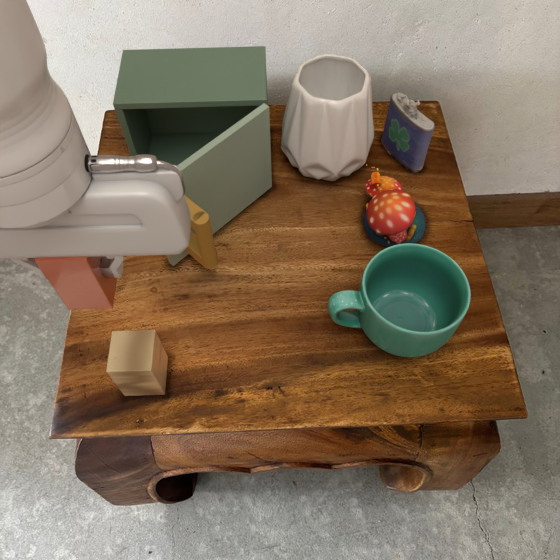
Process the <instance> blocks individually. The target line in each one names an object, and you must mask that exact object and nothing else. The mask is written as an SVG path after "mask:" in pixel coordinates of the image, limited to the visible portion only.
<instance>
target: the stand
mask: <svg viewBox="0 0 560 560" xmlns="http://www.w3.org/2000/svg"><path fill="white" fill-rule="evenodd" d="M108 349H109V350H108V357H107V364H106V370H105V372H106V373H107V375H108V376H109V377H110V379H111V380H112V382H113V383H114V384H115V386H116V387H117V388H118V389H119V391H120V392H121V393H122V395H123V396H124V397H134V396H135V397H136V396H137V397H138V396H139V397H140V396H164V395H166V386H167V376H168V363H169V356H168V354H167V352H166V350H165V348H164V346H163V344H162V341H161V340H160V337H159V335H158V333H157V331H156V329H139V330H136V329H135V330H112V331H111V336H110V343H109V348H108Z"/></svg>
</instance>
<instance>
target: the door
mask: <svg viewBox="0 0 560 560" xmlns="http://www.w3.org/2000/svg"><path fill="white" fill-rule="evenodd" d="M270 117H271V116H270V106H269V105H266V104H265V103H263V104H262V105H261V106H259V107H258V108H256V109H255V110H254V111H252V112H251V113H249V114H248V115H247V116H245V117H244V118H243V119H241V120H240V121H238V122H237V123H236V124H234V125H233V126H231V127H230V128H229V129H227V130H226V131H225V132H223V133H222V134H220V135H219V136H218V137H216V138H215V139H213V140H212V141H211V142H209V143H208V144H206V145H205V146H204V147H202V148H201V149H200V150H198V151H197V152H195V153H194V154H193V155H191V156H190V157H188V158H187V159H186V160H184V161H183V162H182V163H180V164H179V165H177V167H178V168H179V169H180V171H181V174H182V176H183V181H184V185H185V194H184V196H185V199H186V202H187V204H188V207H189V210H190V215H191V233H190V242H189V245H188V247H187V248H186V249H185V250H184V251H183V252H182V253H180V254H177V255H165V256H166V258H167V261H168V264H169V265H171V266H172V267H175V266H176V265H178V264H179V263H180V262H181V261H182V260H183V259H184V258H186V257H187V256H188V255H189V256H191V257H192V258H193V259H194V260H195V261H197V262H198V263H199V264H200V265H202V267H204V268H205V269H207V270H213V269H216V268H217V266H218V265H219V259H218V255H217V254H218V253H217V249H216V244H215V240H214V234H215V233H217V232H218V231H219V230H220V229H221V228H223V227H224V226H225V225H226V224H228V223H229V222H230V221H232V220H233V219H234V218H235V217H236V216H238V215H239V214H241V213H242V212H243V211H244V210H245V209H246V208H247V207H249V206H250V205H251V204H253V203H254V202H255V201H256V200H257V199H259V198H260V197H262V195H264V194H265V193H266V192H268V191H269V190H270V189H271V188H273V177H272V172H273V171H272V146H271V144H272V143H271V121H270V119H271V118H270Z"/></svg>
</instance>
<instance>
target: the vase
mask: <svg viewBox="0 0 560 560" xmlns="http://www.w3.org/2000/svg"><path fill="white" fill-rule="evenodd" d="M372 82H373V81H372V77H371V75H370V73H369V71H368V70H367V69H366V68H365V67H364V66H363V65H361V63H360V62H359V61H358V60H356V59H354V58H353V57H349V56H346V55H342V54H335V53H323V54H318V55H316V56H313V57H311V58H309V59H307V60H305V61H303V62H302V63H301V64H300V65H298V67H297V69H296V72H295V75H294V77H293V79H292V83H291V87H290V91H289V93H288V94H289V95H288V98H287V101H286V106H285V109H284V112H283V117H282V122H281V137H280V138H281V139H280V148H281V151H282V152H283V154H284V155H285V157H287V159H288V161H289V164H290V165H291V166H292V167H294V168H296V169H298V172H299V174H301V175H302V176H303V177H306V178H310V179H316V180H318V181H319V180H322V181H326V182H335V181H337V180H339V179H341V178H342V177H349V176H351V175H352V173H354V172H356V171H358V170H360V169H361V168H362V167H363V166H364V165H366V162H367V159H368V156H369V152H370V150H371V147H372V145H373V142H374V139H375V125H374V117H373V115H374V114H373V112H374V111H373V83H372Z"/></svg>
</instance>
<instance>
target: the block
mask: <svg viewBox="0 0 560 560" xmlns="http://www.w3.org/2000/svg"><path fill="white" fill-rule="evenodd" d="M101 258H102V256H98V257H53V258H35V262H36V264H37V265H38V267H39V268H40V270H41V271H42V272H43V274H44V275H45V277H46V278H47V279H46V280H47V281H48V282H49V284H50V285H51V287H52V288H53V290H54V291H55V292H56V294H57V296H58V297H59V298H60V300H61V302H63V304H64V305H65V307H66V308H67V310H70V311H71V310H72V311H73V310H112V309H114V305H115V296H116V289H117V285H118V284H117V283H118V278H104V276H103V274H102V273H101V271H100V264H101V261H102V259H101Z"/></svg>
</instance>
